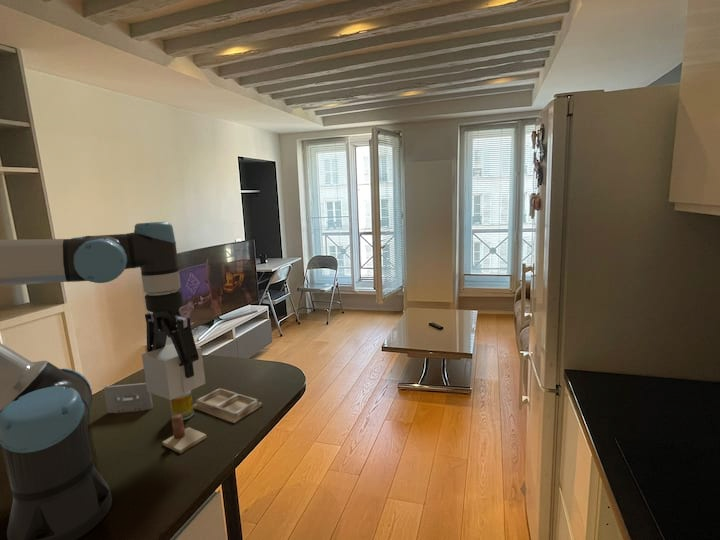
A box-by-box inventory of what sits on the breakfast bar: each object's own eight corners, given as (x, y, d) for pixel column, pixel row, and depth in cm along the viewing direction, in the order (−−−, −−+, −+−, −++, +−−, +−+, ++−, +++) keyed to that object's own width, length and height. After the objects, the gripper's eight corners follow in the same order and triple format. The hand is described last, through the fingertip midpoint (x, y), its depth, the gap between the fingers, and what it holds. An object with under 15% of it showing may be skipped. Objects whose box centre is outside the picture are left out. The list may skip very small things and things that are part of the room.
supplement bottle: (170, 416, 107) (165, 382, 106) (190, 408, 111) (186, 376, 109) (175, 424, 103) (170, 389, 101) (196, 416, 106) (192, 382, 105)
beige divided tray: (234, 423, 102) (233, 416, 101) (193, 408, 111) (192, 401, 111) (262, 405, 110) (262, 398, 110) (222, 392, 119) (221, 386, 119)
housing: (170, 400, 87) (164, 361, 85) (147, 391, 91) (141, 354, 90) (205, 383, 94) (201, 347, 93) (182, 376, 99) (177, 341, 97)
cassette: (154, 406, 113) (150, 381, 112) (151, 410, 111) (147, 384, 110) (110, 411, 112) (105, 385, 111) (106, 414, 110) (102, 388, 109)
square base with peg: (180, 453, 90) (177, 430, 89) (162, 445, 94) (159, 422, 93) (206, 437, 96) (203, 415, 95) (189, 430, 100) (186, 408, 99)
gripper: (208, 291, 86) (220, 388, 90) (152, 284, 98) (164, 371, 102) (176, 299, 80) (190, 403, 84) (120, 291, 92) (134, 382, 95)
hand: (176, 385), depth 93 cm, fingers closed on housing, 9 cm apart
